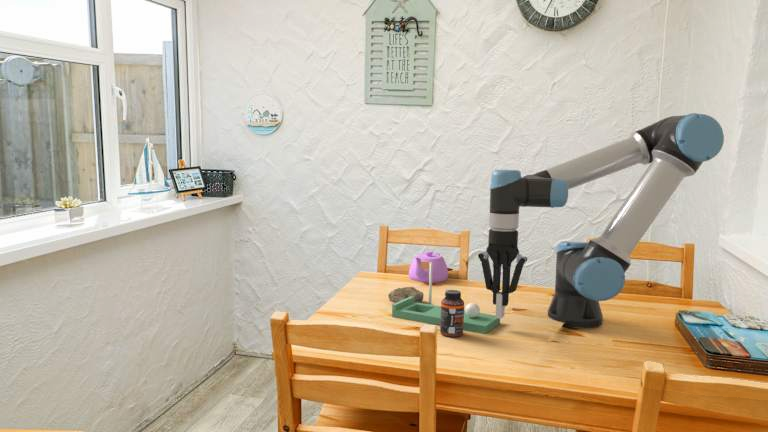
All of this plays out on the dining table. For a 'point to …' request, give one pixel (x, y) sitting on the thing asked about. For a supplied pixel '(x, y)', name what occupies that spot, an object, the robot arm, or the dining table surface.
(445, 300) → the supplement bottle
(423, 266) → the pin
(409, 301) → the green
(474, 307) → the ball
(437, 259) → the teapot
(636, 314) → the dining table surface
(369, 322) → the dining table surface
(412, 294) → the rock
